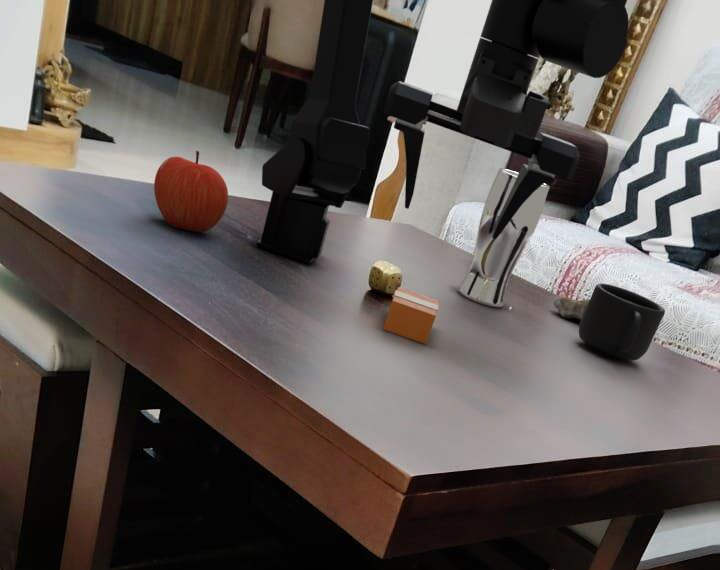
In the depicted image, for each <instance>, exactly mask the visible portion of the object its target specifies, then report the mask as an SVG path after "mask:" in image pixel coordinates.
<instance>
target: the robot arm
mask: <svg viewBox="0 0 720 570" xmlns="http://www.w3.org/2000/svg"><path fill="white" fill-rule="evenodd" d="M373 2H374V0H324V2H323V7H322V15H321V22H320V28H319V34H318V42H317V48H316V54H315V62H314V68H313V75H312V81H311V87H310V93H309V97H308V99H307V100H306V102H305V103H304V104H303V106H302V107H301V108H300V110H299V111H298V112H297V114H296V115H295V116H294V118H293V119H292V121H291V123H290V128H289V132H288V135H287V140H286V144H285V145H284V146H282V147H281V148H280V149H279V150H278V151H277V152H275V154H273V155H272V156H271V157H270V158H269V159H267V161H265V162H264V163H263V165H262V167H261V169H262V171H261V185H262V186H263V187H264V188H266V189H268V190H270V191H271V192H272V193H271V197H270V201H269V205H268V210H267V214H266V217H265V221H264V224H263V225H264V226H263V229H262V234H261V238H259V239H258V240H257V242H256V246H258V247H260V248H263V249H265V250H269V251H271V252H273V253H276V254H279V255H283V256H286V257H288V258H290V259H294V260H296V261H300V262H302V263H305V264H309V265H310V264H312V263H313V262H314V260H316V259H318V258H319V257H320V256H321V254H322V252H323V248H324V244H325V240H326V237H327V234H328V230H329V226H330V223H331V221H330V218H328V217H327V214H328V212H329V207H330V206H331V207H335V208H338V209H341V208H342V207H343V205H344V203H345V202H346V200H347V198H348V196H349V194H350V193H351V191H352V190H353V188H354V186H356V185H357V184H358V182H359V179H360V176H361V173H362V170H365V169H366V167H367V166H366V156H367V154H366V153H367V149H368V146H369V143H370V138H371V132H370V128H369V127H368V126H366V125H361V123H360V120H359V115H358V112H357V108H356V103H357V97H358V91H359V86H360V79H361V74H362V67H363V62H364V57H365V49H366V44H367V38H368V33H369V27H370V20H371V15H372V8H373ZM627 2H628V0H491V2H490V6H489V9H488V12H487V15H486V18H485V21H484V24H483V26H482V30H481V33H480V37H479V40H478V42H477V45H476V48H475V52H474V55H473V58H472V60H471V65H470V67H469V71H468V74H467V78H466V80H465V83H464V86H463V89H462V92H461V95H460V99H459V102H458V105H457V108H456V109H455V108H453V107H450V106H447V105H444V104H443V103H439V102H436V101H433V100H432V99H433V96H434V93H433V92H431V91H429V90H426V89H423V88H421V87H418V86H415V85H412V84H409V83H407V82H404V81H401V80H399V81H396V82H395V83H394V84H392V85H391V86H390V88H389V92H388V95H387V98H386V102H385V105H384V110H383V111H382V113H383V114H384V115H387V116H389V117H391V118H395V122H394V124H393V128H394V129H395V130H397V131H400V132H402V133H403V142H404V152H405V189H404V190H405V191H404V193H405V194H404V208H405V209H407V210H408V209H410V206H411V202H412V200H413V197H414V193H415V187H416V182H417V177H418V172H419V171H418V170H419V165H420V160H421V159H420V158H421V153H422V148H423V144H424V139H425V134H426V133H425V132H426V128H425V127H423V126H424V125H425V126H426V125H427V122H428V123H431V124H433V125H436V126H439V127H442V128H445V129H447V130H450V131H452V132H456V133H458V134H461V135H464V136H466V137H470V138H472V139H475V140H478V141H480V142H483V143H487V144H488V145H492V146H495V147H497V148H500V149H502V150H506V151H508V152H510V153H514V154H517V155H519V156H521V157H525V158H528V159H527V160H528V164H525V163H523V164H522V165H521V168H520V170H519V172H518V173H519V174H518V176H517V179H516V181H515V183H514V185H513V187H512V189H511V192H510V194H509V196H508V198H507V200H506V203H505V205H504V207H503V209H502V211H501V213H500V216H499V218H498V220H497V223H496V226H495V229H494V232H493V235H492V238H493V239H497V238H498V236H499V235H500V234H501V232H502V231H503V230H504V228H505V227H506V226H507V224H508V223H509V221H510V220H511V219H512V217H513V216H514V215H515V213H516V212H517V211H518V209H519V208H520V207H521V205H522V204H523V203H524V202H525V201H526V200H527V199H528V198H529V197H530V196H531V194H532V193H533V192H534V191H536V190H537V189H538V188H539V187H540V186H541V185H543V184H544V183H545V184H547V185H551V186H554V185H555V184H556V182H557V179H556V177H559V178H562V179H565V180H568V181H572V180H573V177H574V174H575V171H576V169H577V167H578V164H579V160H580V155H581V154H580V151H579V149H578V147H577V146H576V145H574V144H573V143H572V142H569V141H566V140H563V139H561V138H558V137H556V136H552V135H550V134H547V133H544V132H541V131H539V130H540V128H541V125H542V122H543V120H544V118H545V114H546V111H547V109H548V105H549V101H550V100H549V99H550V98H549V96H546V95H544V94H540V93H538V92H534V91H533V90H530V91H529V88H530V86H531V83H532V80H533V77H534V74H535V71H536V69H537V65H538V63H539V59H540V57H541V58H542V59H543V60H544V61H546V62H548V63H550V64H553V65H557V66H559V67H562V68H564V69H567V70H570V71H574V72H575V73H578V74H582V75H585V76H588V77H591V78H593V79H600V78H603V77H605V76H607V75H608V74H610V73H611V72H612V71H613V70H614V69H615V67H616V66H617V65H618V63H619V62H620V61H621V59H622V57H623V55H624V53H625V50H626V48H627V45H628V41H629V40H628V34H629V25H630V24H629V23H630V21H629V14H628V10H627V8H626V5H627ZM555 176H556V177H555Z"/></svg>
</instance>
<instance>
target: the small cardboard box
mask: <svg viewBox="0 0 720 570" xmlns="http://www.w3.org/2000/svg"><path fill="white" fill-rule="evenodd" d="M438 310H439V300H436V299H434V298H431V297H428V296H425V295H423V294H419V293H416V292H414V291H412V290H408V289H405V288H403V287H400V286H397V287H396V290H395V291H394V294H393V298H392V301H391V303H390V307H389V310H388V313H387V315H386V319H385V323H384V326H383V330H384V331H386V332H390V333H393V334H395V335H397V336H401V337H403V338H406V339H408V340H412V341H415V342H418V343H421V344H423V345H427V343H428V340H429V338H430V337H429V336H430V334H431V331H432V329H433V325H434V323H435V319H436V318H437V317H436V316H437V312H438Z"/></svg>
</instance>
